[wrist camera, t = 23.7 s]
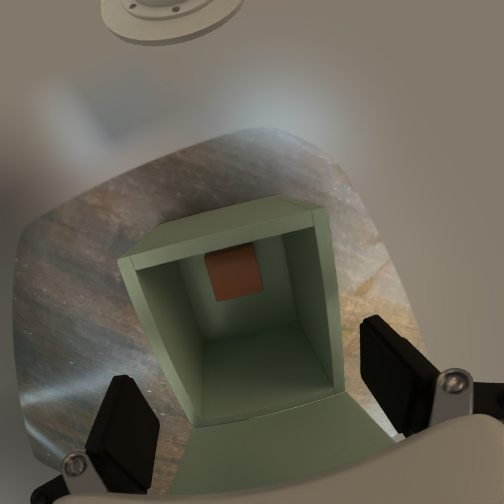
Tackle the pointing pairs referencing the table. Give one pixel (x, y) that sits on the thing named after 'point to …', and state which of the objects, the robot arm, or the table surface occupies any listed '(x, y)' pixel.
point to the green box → (242, 310)
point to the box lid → (277, 447)
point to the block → (233, 271)
